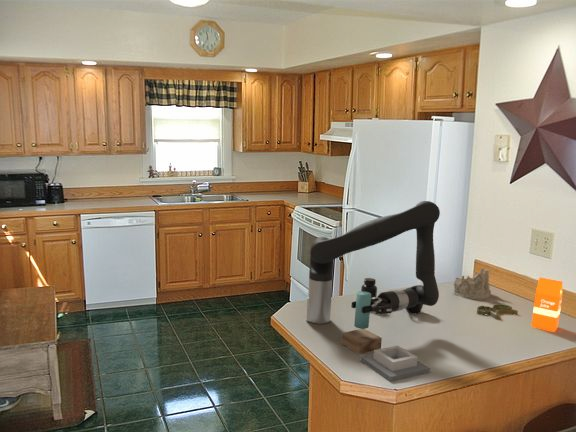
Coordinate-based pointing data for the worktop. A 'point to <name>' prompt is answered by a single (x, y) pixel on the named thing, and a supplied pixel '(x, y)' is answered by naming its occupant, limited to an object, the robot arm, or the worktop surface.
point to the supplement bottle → (370, 287)
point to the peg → (360, 317)
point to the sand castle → (473, 286)
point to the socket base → (395, 363)
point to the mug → (415, 308)
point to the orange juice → (547, 304)
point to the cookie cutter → (500, 309)
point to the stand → (361, 341)
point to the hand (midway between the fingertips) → (357, 307)
